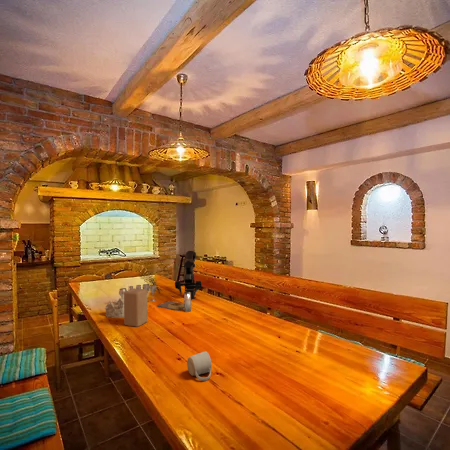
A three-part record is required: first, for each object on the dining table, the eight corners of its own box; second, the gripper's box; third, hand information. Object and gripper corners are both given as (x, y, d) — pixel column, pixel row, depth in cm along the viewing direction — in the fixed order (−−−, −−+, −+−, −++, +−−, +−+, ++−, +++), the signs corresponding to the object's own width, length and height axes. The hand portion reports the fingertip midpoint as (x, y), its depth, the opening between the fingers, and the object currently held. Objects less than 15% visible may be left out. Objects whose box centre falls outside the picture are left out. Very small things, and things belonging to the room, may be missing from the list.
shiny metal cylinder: (187, 309, 200) (187, 291, 200) (192, 310, 198) (192, 291, 198) (183, 311, 196) (182, 292, 196) (188, 312, 194) (188, 293, 194)
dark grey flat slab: (170, 301, 220) (170, 298, 220) (190, 305, 209) (190, 301, 209) (156, 306, 208) (156, 302, 208) (177, 310, 198) (177, 306, 198)
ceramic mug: (185, 371, 117) (185, 352, 117) (204, 366, 121) (204, 348, 121) (196, 384, 108) (196, 364, 108) (216, 378, 112) (216, 358, 112)
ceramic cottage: (138, 311, 196) (136, 289, 196) (120, 320, 181) (118, 296, 181) (120, 310, 203) (119, 289, 202) (102, 318, 188) (100, 295, 187)
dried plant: (177, 274, 237) (152, 248, 268) (141, 283, 218) (119, 254, 248) (172, 304, 249) (149, 276, 279) (138, 315, 229) (117, 283, 259)
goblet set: (155, 299, 228) (154, 282, 228) (157, 301, 223) (157, 283, 223) (118, 305, 213) (117, 287, 213) (119, 306, 208) (119, 288, 208)
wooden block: (148, 321, 176) (147, 289, 176) (138, 327, 167) (137, 292, 166) (134, 320, 179) (133, 287, 179) (123, 325, 170) (123, 291, 170)
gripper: (175, 269, 205) (173, 288, 194) (201, 269, 206) (201, 288, 195) (176, 278, 213) (174, 297, 202) (201, 278, 214) (201, 297, 203)
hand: (187, 295), depth 200 cm, fingers open, 9 cm apart
